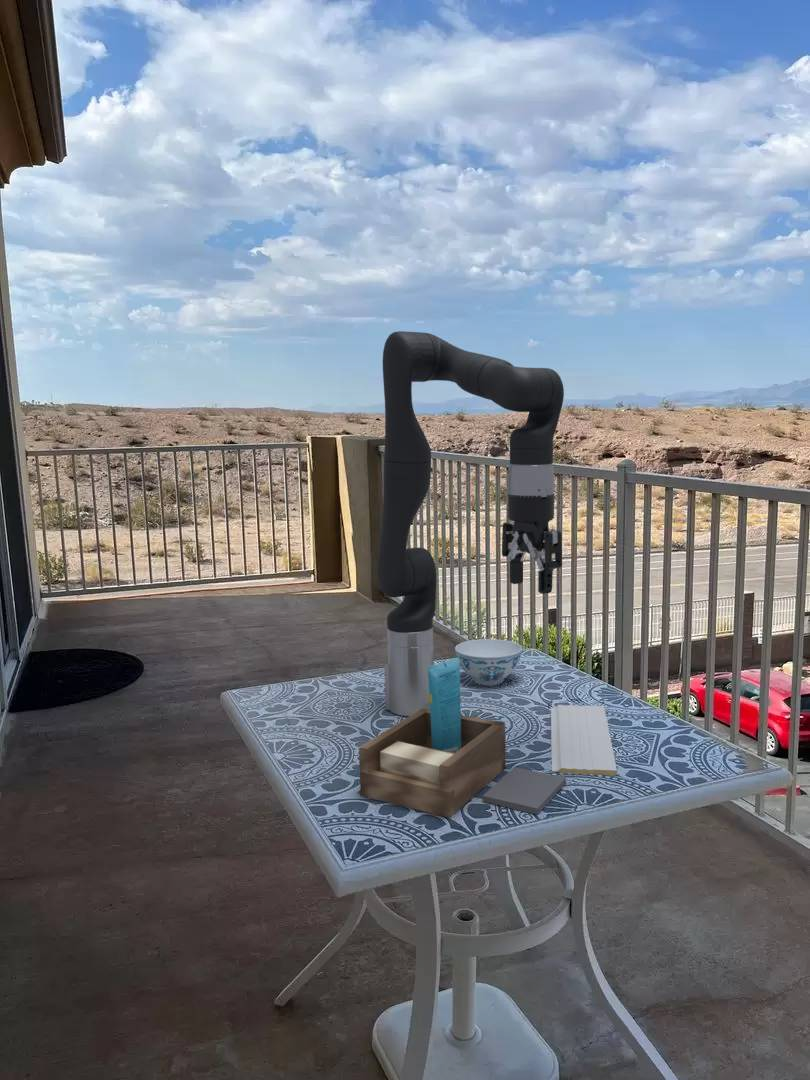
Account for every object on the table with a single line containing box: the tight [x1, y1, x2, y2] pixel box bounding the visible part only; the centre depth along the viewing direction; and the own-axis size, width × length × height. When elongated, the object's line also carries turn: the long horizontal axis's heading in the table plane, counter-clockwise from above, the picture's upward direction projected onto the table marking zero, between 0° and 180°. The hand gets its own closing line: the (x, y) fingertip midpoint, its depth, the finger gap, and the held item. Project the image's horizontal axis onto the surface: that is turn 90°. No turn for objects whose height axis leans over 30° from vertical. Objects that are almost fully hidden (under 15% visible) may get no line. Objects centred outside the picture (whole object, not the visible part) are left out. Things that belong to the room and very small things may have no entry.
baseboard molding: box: [547, 698, 618, 777], centre depth 151 cm, size 31×3×12 cm
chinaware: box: [454, 638, 523, 686], centre depth 186 cm, size 15×15×8 cm
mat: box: [482, 766, 567, 816], centre depth 130 cm, size 9×12×1 cm
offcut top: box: [380, 741, 453, 782], centre depth 129 cm, size 11×5×2 cm, turn 56°
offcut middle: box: [380, 767, 440, 785], centre depth 130 cm, size 11×5×2 cm, turn 57°
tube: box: [428, 656, 462, 753], centre depth 136 cm, size 7×5×19 cm, turn 140°
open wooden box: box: [358, 708, 507, 819], centre depth 134 cm, size 16×20×8 cm
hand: (530, 588), depth 138 cm, fingers open, 8 cm apart
